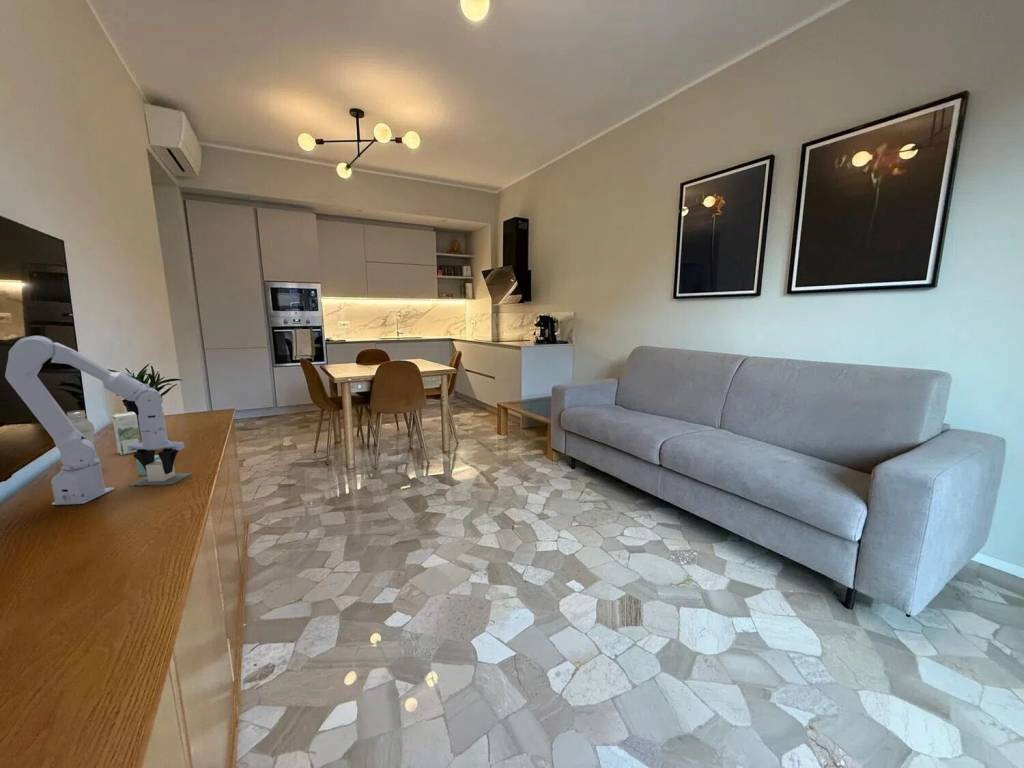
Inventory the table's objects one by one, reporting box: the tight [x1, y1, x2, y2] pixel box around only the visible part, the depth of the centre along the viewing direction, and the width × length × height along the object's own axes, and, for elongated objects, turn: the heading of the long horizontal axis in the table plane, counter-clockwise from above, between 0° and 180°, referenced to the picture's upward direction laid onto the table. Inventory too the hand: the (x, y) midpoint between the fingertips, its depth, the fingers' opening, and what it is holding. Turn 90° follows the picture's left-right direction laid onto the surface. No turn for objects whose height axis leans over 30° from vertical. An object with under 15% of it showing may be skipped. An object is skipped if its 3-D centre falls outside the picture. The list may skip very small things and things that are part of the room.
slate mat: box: [128, 472, 192, 487], centre depth 124 cm, size 8×12×1 cm, turn 94°
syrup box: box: [111, 411, 142, 456], centre depth 149 cm, size 6×6×14 cm
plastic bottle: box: [66, 409, 102, 464], centre depth 128 cm, size 6×7×20 cm
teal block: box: [135, 454, 161, 476], centre depth 130 cm, size 4×4×5 cm
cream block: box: [146, 460, 176, 482], centre depth 124 cm, size 4×4×5 cm
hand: (160, 473), depth 123 cm, fingers closed on cream block, 4 cm apart
